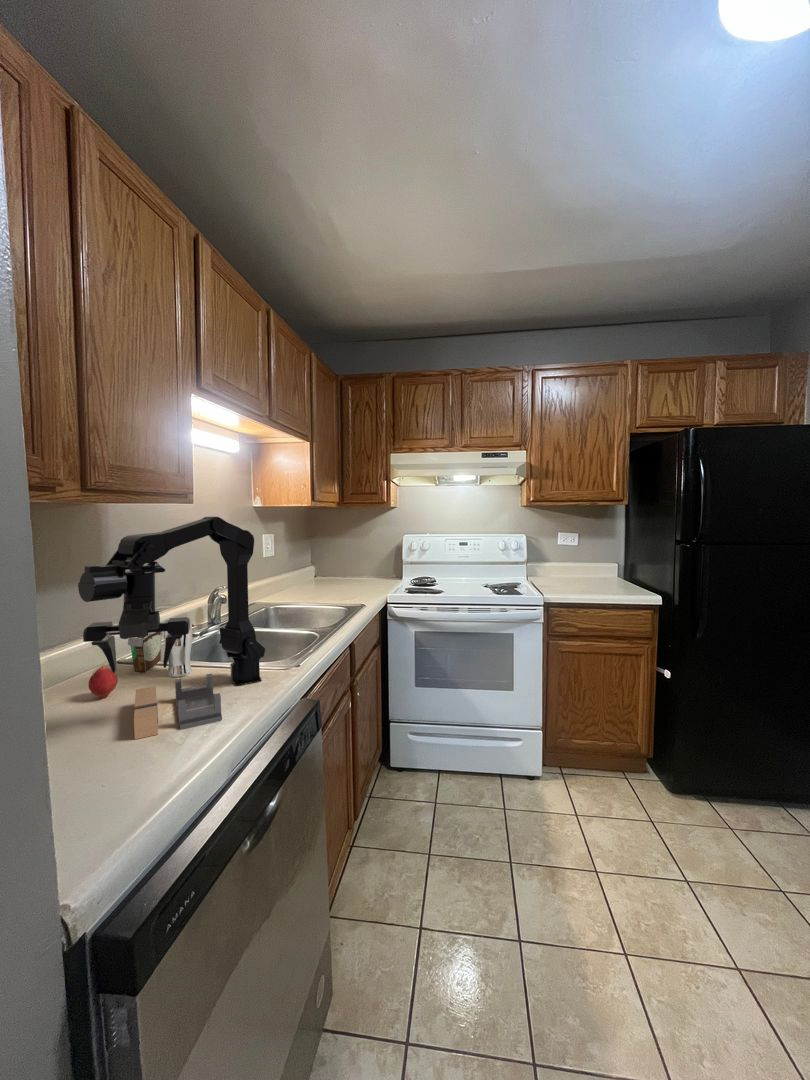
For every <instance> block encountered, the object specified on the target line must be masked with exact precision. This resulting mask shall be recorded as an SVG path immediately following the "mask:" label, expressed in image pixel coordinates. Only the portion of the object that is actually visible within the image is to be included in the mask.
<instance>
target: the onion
mask: <svg viewBox="0 0 810 1080" xmlns="http://www.w3.org/2000/svg"><path fill="white" fill-rule="evenodd" d="M88 680H89V681H88V683H87V684H88V689H89V691H90V692H91V693H92V694H93V695H94V696H97V697H99V698H103V699H104V698H107V697H108V696H109V695H110V694H111V693H112V692H113V691H114V690H116V688H117V686H118V676H117V674H116V672H115V673H113V672H112V669H110V668H107V665H106V664H102V665H100V667H99V668H98V669H97V670H96V671H95V672H93V673H92V675H91V676H90V677H89V679H88Z"/></svg>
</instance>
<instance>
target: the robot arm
mask: <svg viewBox="0 0 810 1080" xmlns="http://www.w3.org/2000/svg"><path fill="white" fill-rule="evenodd" d="M208 536H209V538H210V539H211V540H212V541H213V542H215V543H216V544H217V545H218V546H219V551H220V555H221V557H222V558H223V560H224V562H225V564H226V571H227V572H226V573H227V574H226V576H227V578H226V580H227V581H226V582H227V583H226V584H227V617H228V619H227V621H226V624H225V626H224V627H219V635H220V637H219V638H220V639H219V644H220V645H221V648H222V649H223V650H224V652H225V653H226V656H227V657H228V658H232V663H230V666H229V667H230V668H229V669H230V679H231V682H233V683H234V685H235V686H241V684H242V685H246V684H245V683H248V684H252V683H251V682H253V683H256V682H257V681H258V682H261V681H262V677H261V675H260V674H261V672H260V668H261V667H260V659H262V658H264V657H265V652H266V648H265V647H264V646H263V645H262V644H261V643H260V642H258V641H257V635H256V630H255V627H254V626H253V624H252V622H251V619H250V617H249V613H250V612H249V583H248V582H249V573H248V572H249V571H248V563H249V562H250V560H251V558H252V556H253V555H254V547H255V537H254V535H253V534H252V533H251V532H250V531H249V530H246V529H243V528H241V527H239V526H237V525H234V524H232V523H229V522H227V521H226V520H224V519H223V518H221V517H219V516H204V517H202V518H201V519H198V520H194V521H192V522H191V521H190V522H189V523H188V522H187V523H185V524H182V525H179V526H176V527H175V526H174V527H172V528H169V529H166V530H165V529H164V530H163V531H159V532H148V533H146V532H145V533H138V534H131V535H130V534H129V535H126V536H124V537H122V538H121V539H120V542H119V544H118V547H117V550H116V551H115V552H114V554H113V555H112V557H111V558H110V559H109V561H108V562H107V563H106V564H105V565H85V566H84V572H83V573H82V574H81V576H80V579H79V582H78V584H77V588H78V589H77V590H78V594H79V596H80V598H81V600H82V601H84V602H85V603H91V602H98V601H107V600H114V599H120V598H121V597H122V596H123V606H122V612H121V615H120V618H119V621H118V625H113V621H101V622H99V621H98V622H92V623H91V624H89V625H88V626H86V628H84V630H83V633H82V634H83V637H82V638H83V639H82V641H83V642H85V643H89V642H90V643H91V645H92V646H97V647H99V649H101V651H102V653H103V654H104V656H105V658H106V660H107V662H108V665H109V666H110V670H111V671H112V672H113V673H115V674H116V673H117V664H118V663H117V652H116V639H115V636H118V635H119V638H120V639H122V640H128V639H129V638H134V637H138V638H144V637H146V636H148V633H149V632H162V633H164V631H167V632H168V635H167V637H166V645H165V644H164V646H165V647H164V652H163V653H164V655H163V661H162V663H163V664H162V665H163V669H166V668H167V665H168V663H169V661H168V659H169V656H170V653H171V650H172V647H173V645H174V643H175V641H176V639H181V638H182V636H183V635H186V634H188V633H189V630H190V619H188V618H189V617H188V616H187V617H186V616H185V617H184V616H183V617H181V618H180V617H170V618H168V619H169V621H168V622H166V623H164V622H161V615H160V611H159V610H156V574H159V573H164V572H166V568H164V567H163V566H162V565H160V564H159V563H158V562H157V561H158V560H159V559H161V558H162V557H164V556H165V555H167V554H168V553H169V552H170V551H171V550H172V549H175V548H178V547H180V546H182V545H185V544H188V543H190V542H194V541H197V540H199V539H203V538H205V537H208ZM126 570H127V571H126Z"/></svg>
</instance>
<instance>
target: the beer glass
mask: <svg viewBox="0 0 810 1080" xmlns="http://www.w3.org/2000/svg"><path fill="white" fill-rule="evenodd" d="M179 618H181V617H179ZM187 618H188V619H190V630H189V633H188V634H186V635H183V636H182V638H181V639H176V641H175V643H174V645H173V647H172V650H171V653H170V656H169V659H168V669H167V676H168V677H169V678H181V677H180V676H182V677H185V676H184V675H186V676H188V675H190V674H192V672H193V670H192V665H191V650H192V644H193V629H192V628H193V626H192V621H191V620H192V619H191V617H187ZM169 619H170V618H168V619H165V620H164V622H163V623H166V622H168V621H169ZM167 635H168V632H167V631H163V638H164V639H163V640H164V641H163V642H164V646H165V645H166V637H167ZM187 674H188V675H187Z"/></svg>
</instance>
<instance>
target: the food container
mask: <svg viewBox="0 0 810 1080" xmlns="http://www.w3.org/2000/svg"><path fill="white" fill-rule="evenodd" d="M162 635H163V632H149V633H148V636H146V637H144V638H138V637H134V638H128V639H127V640H128V641H127V645H128V646H130V650H131V651H130V652H131V657H132V658H131V659H132V665H133V671H134V672H135V673H137V672H138V673H139V674H147V673H148V672H150V671H151V670H152V669H154V668H156V664H157V663H158V662H159V661H161V662H162ZM146 672H147V673H146Z"/></svg>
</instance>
